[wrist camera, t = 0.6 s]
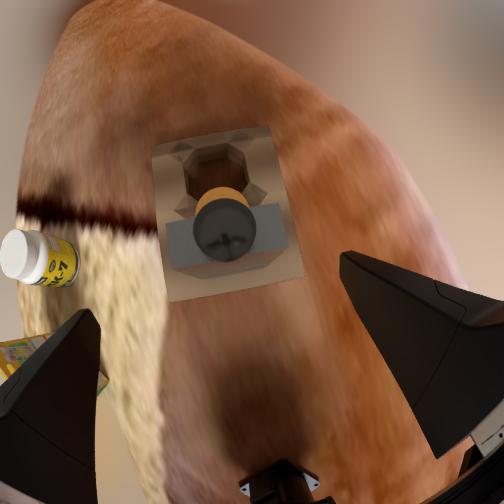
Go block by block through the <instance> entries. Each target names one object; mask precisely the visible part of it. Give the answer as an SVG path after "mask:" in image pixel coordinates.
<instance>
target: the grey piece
mask: <svg viewBox="0 0 504 504" xmlns="http://www.w3.org/2000/svg"><path fill="white" fill-rule="evenodd" d="M165 226H166V234H167V241H168V248H169V255H170V261H171V268H172V270H175V271H178V272H181V273H184V274H187V275H190V276H193V277H195V278H198V279H201V280H204V279H209V278H214V277H220V276H225V275H230V274H236V273H241V272H246V271H251V270H257V269H262V268H266V267H267V266H268V265H269V264H270V263H272V262H273V261H274V260H275V259H276V258H277V257H278V256H280V255H281V254H282V253H283V252H284V251H285V250H286V249H287V248H289V245H288V240H287V236H286V231H285V227H284V222H283V218H282V213H281V209H280V205H279V202H278V203H272V204H266V205H260V206H254V207H247V206H246V205H244V204H243V203H241V202H239V201H237V200H234V199H230V198H221V199H216V200H213V201H211V202H209V203H207V204H206V205H205V206H203V207H202V208H201V209H200V211H199V212H198V214H197V215H196V217H194V218H189V219H184V220H180V221H175V222H170V223H165Z"/></svg>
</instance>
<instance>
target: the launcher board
mask: <svg viewBox="0 0 504 504" xmlns="http://www.w3.org/2000/svg"><path fill="white" fill-rule="evenodd" d="M225 158H229V159H230V160H232V161H234V162H235V163H237V164H239V165H240V166H242V167H243V169H244V174H245V179H246V184H247V186H246V188H245V189H244V190H243V192H242V193H241V194H242V195H243V196H244V198H245V199H246V201H247V203H248V205H249V207H254V206H260V205H266V204H272V203H278V202H279V205H280V209H281V213H282V218H283V222H284V227H285V231H286V236H287V240H288V245H289V248H287V249H286V250H285V251H284V252H283V253H282V254H281V255H280V256H278V257H277V258H276V259H275V260H274V261H273V262H272V263H270V264H269V265H268V266H267V267H266V268H262V269H257V270H251V271H246V272H241V273H236V274H230V275H225V276H220V277H214V278H209V279H204V280H201V279H198V278H195V277H193V276H190V275H187V274H184V273H181V272H178V271H175V270H172V268H171V261H170V255H169V248H168V241H167V234H166V226H165V223H170V222H175V221H180V220H184V219H189V218H194V217H195V212H196V207H197V204H198V202H199V201H197V200H196V199H194V198H193V197H191V195H190V187H189V180H188V177H189V175H190V174H191V173H192V172H193V170H194V169H195V168H196V167H197V166H198V164H199V163H203V162H208V161H214V160H219V159H225ZM151 160H152V175H153V188H154V199H155V209H156V219H157V227H158V235H159V243H160V250H161V257H162V264H163V271H164V277H165V283H166V289H167V294H168V300H169V302H176V301H182V300H188V299H194V298H199V297H205V296H210V295H216V294H221V293H227V292H232V291H237V290H242V289H248V288H253V287H258V286H263V285H268V284H273V283H278V282H282V281H287V280H292V279H297V278H301V277H305V272H304V268H303V263H302V258H301V254H300V249H299V244H298V240H297V236H296V231H295V227H294V222H293V218H292V214H291V210H290V205H289V201H288V197H287V193H286V189H285V185H284V181H283V177H282V173H281V169H280V166H279V162H278V158H277V154H276V150H275V147H274V143H273V139H272V136H271V132H270V129H269V125H267V126H259V127H251V128H243V129H236V130H230V131H223V132H217V133H212V134H206V135H201V136H196V137H191V138H186V139H181V140H177V141H172V142H168V143H163V144H159V145H155V146H151Z"/></svg>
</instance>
